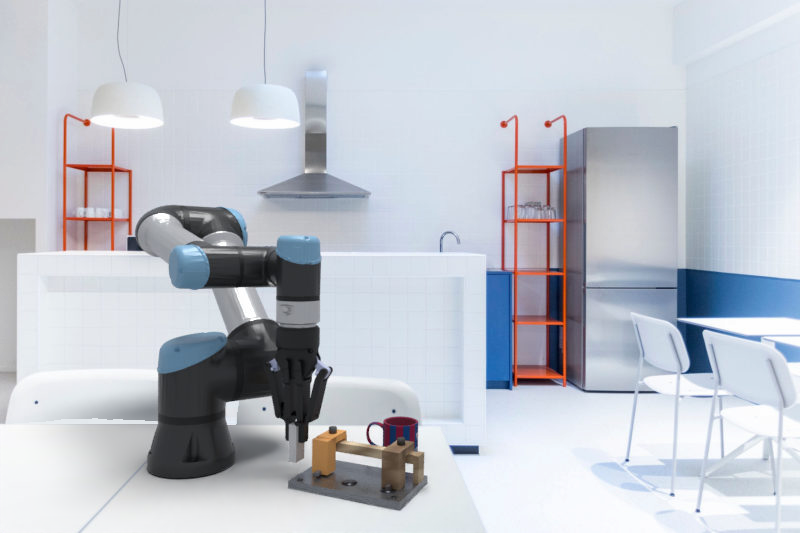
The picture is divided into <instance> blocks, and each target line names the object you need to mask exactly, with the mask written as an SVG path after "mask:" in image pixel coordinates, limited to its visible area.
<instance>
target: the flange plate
mask: <svg viewBox="0 0 800 533" xmlns="http://www.w3.org/2000/svg"><path fill="white" fill-rule="evenodd" d="M381 475H382V467H381V466H380V467H379V466H373V465H367V464H362V463H361V464H360V463H355V462H350V461H349V462H348V461H345V460H339V459H338V460H337V459H336V466H335V471H333V472H332V473H330V474H329V475H322V474H321V475H320V476H314V473H312V465H311V466H309V467H308V468H307V469H305V470H303V471H301V472H300V473H299V474H297V475H296V476H294V477H292V478H290V479H289V480H288V481H287V488H288V489H292V490H297V491H301V492H307V493H310V494H311V493H312V494H315V495H321V496H326V497H332V498H337V499H342V500H347V501H351V502H357V503H361V504H366V505H372V506H377V507H382V508H387V509H392V510H398V511H401V510H402V508H404V507H405V505H407V504H408V503H409V502H410V501H411V500H412V499H413V498H414V497H415V496H416V495H417V494H418V493H419V491H421V490H422V488H424V487H425V486H426V485H427V484H428V475H426V474H425V475H424V480H423V481H422V482H420V483H419V484H414V483H413V472H408V471H405V485H404V486H403V487H402V488H401V489H399V490H396V489H391V490H390V491H385V487H381Z"/></svg>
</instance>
